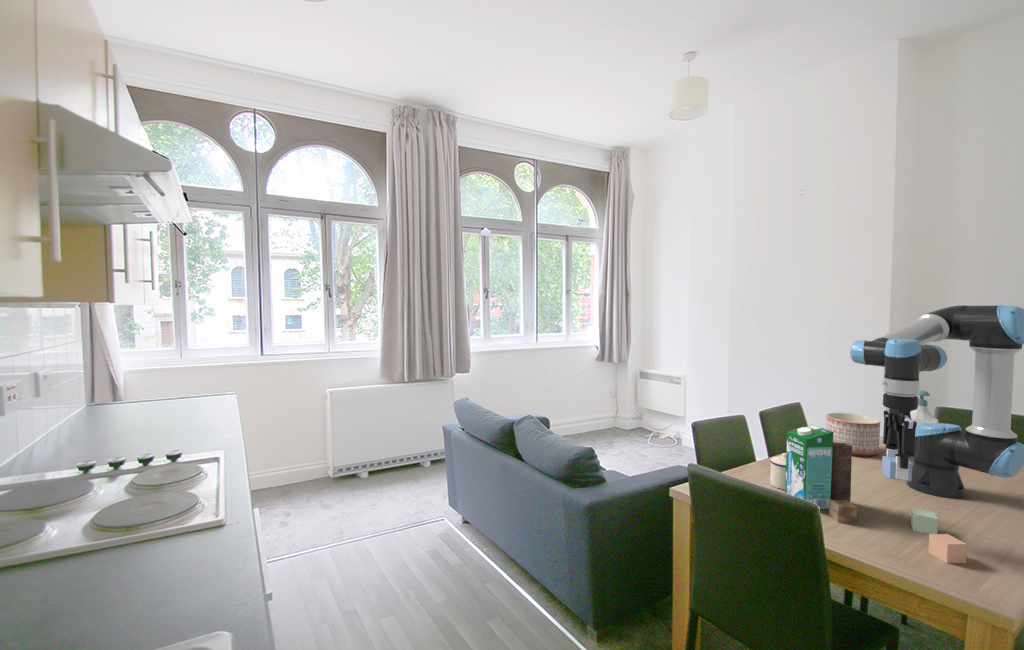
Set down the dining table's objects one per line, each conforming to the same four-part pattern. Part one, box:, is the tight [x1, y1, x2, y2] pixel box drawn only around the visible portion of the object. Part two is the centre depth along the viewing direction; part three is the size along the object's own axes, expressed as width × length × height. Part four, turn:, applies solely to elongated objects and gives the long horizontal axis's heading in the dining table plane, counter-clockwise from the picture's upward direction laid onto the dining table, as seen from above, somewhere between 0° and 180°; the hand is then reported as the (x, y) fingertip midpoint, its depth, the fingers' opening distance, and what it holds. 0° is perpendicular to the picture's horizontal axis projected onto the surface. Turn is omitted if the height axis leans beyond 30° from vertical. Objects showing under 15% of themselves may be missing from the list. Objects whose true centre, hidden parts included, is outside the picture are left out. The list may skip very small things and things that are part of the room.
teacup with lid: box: [769, 452, 787, 491], centre depth 165 cm, size 12×9×12 cm
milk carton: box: [784, 424, 833, 510], centre depth 149 cm, size 9×9×25 cm
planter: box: [825, 412, 881, 457], centre depth 203 cm, size 19×19×15 cm
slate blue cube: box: [881, 455, 913, 482], centre depth 130 cm, size 5×5×5 cm
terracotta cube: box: [928, 533, 968, 564], centre depth 118 cm, size 5×5×5 cm
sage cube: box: [910, 507, 939, 535], centre depth 133 cm, size 5×5×5 cm
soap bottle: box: [910, 389, 939, 431], centre depth 201 cm, size 11×8×27 cm
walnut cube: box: [828, 499, 858, 525], centre depth 139 cm, size 5×5×5 cm
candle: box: [831, 442, 853, 503], centre depth 149 cm, size 8×7×20 cm
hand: (896, 475), depth 130 cm, fingers closed on slate blue cube, 5 cm apart
